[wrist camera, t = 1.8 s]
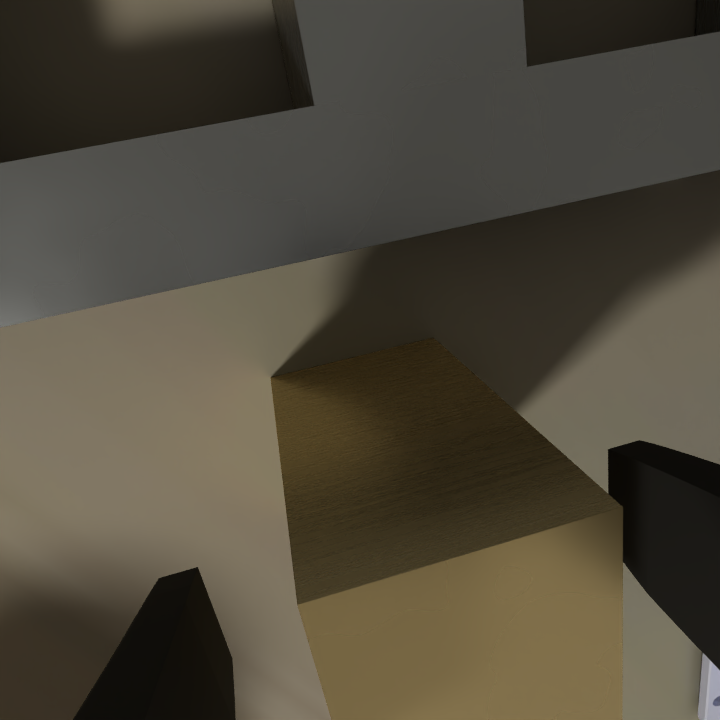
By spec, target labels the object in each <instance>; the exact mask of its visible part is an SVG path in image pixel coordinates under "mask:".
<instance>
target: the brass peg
mask: <svg viewBox="0 0 720 720" xmlns="http://www.w3.org/2000/svg"><path fill="white" fill-rule="evenodd" d="M271 386H272V394H273V403H274V411H275V420H276V428H277V437H278V445H279V453H280V462H281V470H282V479H283V487H284V496H285V504H286V513H287V521H288V529H289V538H290V546H291V555H292V563H293V572H294V580H295V589H296V597H297V605H298V609H299V612H300V615H301V619H302V622H303V625H304V629H305V632H306V635H307V639H308V642H309V646H310V649H311V652H312V656H313V659H314V662H315V666H316V669H317V672H318V676H319V679H320V683H321V686H322V689H323V693H324V696H325V699H326V703H327V706H328V709H329V713H330V716H331V720H622V648H623V507H622V506H621V505H620V504H619V503H618V502H617V501H616V500H614V499H613V498H612V497H611V496H610V495H609V494H608V493H607V492H605V491H604V490H603V489H602V488H601V487H600V486H599V485H598V484H596V483H595V482H594V481H593V480H592V479H591V478H590V477H589V476H588V475H586V474H585V473H584V472H583V471H582V470H581V469H580V468H579V467H577V466H576V465H575V464H574V463H573V462H572V461H571V460H570V459H568V458H567V457H566V456H565V455H564V454H563V453H562V452H561V451H560V450H558V449H557V448H556V447H555V446H554V445H553V444H552V443H551V442H549V441H548V440H547V439H546V438H545V437H544V436H543V435H542V434H540V433H539V432H538V431H537V430H536V429H535V428H534V427H533V426H532V425H530V424H529V423H528V422H527V421H526V420H525V419H524V418H523V417H521V416H520V415H519V414H518V413H517V412H516V411H515V410H514V409H512V408H511V407H510V406H509V405H508V404H507V403H506V402H505V401H504V400H502V399H501V398H500V397H499V396H498V395H497V394H496V393H495V392H493V391H492V390H491V389H490V388H489V387H488V386H487V385H486V384H484V383H483V382H482V381H481V380H480V379H479V378H478V377H477V376H475V375H474V374H473V373H472V372H471V371H470V370H469V369H468V368H467V367H465V366H464V365H463V364H462V363H461V362H460V361H459V360H458V359H456V358H455V357H454V356H453V355H452V354H451V353H450V352H449V351H447V350H446V349H445V348H444V347H443V346H442V345H441V344H440V343H439V342H437V341H436V340H435V339H434V338H430V339H426V340H422V341H418V342H414V343H409V344H405V345H401V346H397V347H393V348H389V349H385V350H381V351H377V352H373V353H369V354H365V355H360V356H356V357H352V358H348V359H344V360H340V361H336V362H332V363H328V364H324V365H320V366H315V367H311V368H307V369H303V370H299V371H295V372H291V373H287V374H283V375H279V376H275V377H271Z"/></svg>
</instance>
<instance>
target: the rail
mask: <svg viewBox="0 0 720 720" xmlns="http://www.w3.org/2000/svg"><path fill="white" fill-rule="evenodd" d="M272 5H273V10H274V15H275V20H276V24H277V29H278V34H279V39H280V44H281V49H282V54H283V58H284V63H285V68H286V73H287V78H288V83H289V88H290V92H291V97H292V102H293V107H294V110H288V111H283V112H277V113H272V114H266V115H261V116H255V117H250V118H245V119H239V120H234V121H228V122H223V123H217V124H212V125H206V126H201V127H195V128H190V129H184V130H179V131H173V132H168V133H163V134H157V135H152V136H146V137H141V138H135V139H130V140H124V141H119V142H113V143H108V144H102V145H97V146H91V147H86V148H81V149H75V150H70V151H64V152H59V153H53V154H48V155H42V156H37V157H31V158H26V159H20V160H15V161H9V162H4V163H0V327H5V326H9V325H14V324H18V323H23V322H28V321H32V320H37V319H41V318H46V317H50V316H55V315H59V314H64V313H69V312H73V311H78V310H82V309H87V308H91V307H96V306H101V305H105V304H110V303H114V302H119V301H123V300H128V299H133V298H137V297H142V296H146V295H151V294H155V293H160V292H164V291H169V290H174V289H178V288H183V287H187V286H192V285H196V284H201V283H206V282H210V281H215V280H219V279H224V278H228V277H233V276H238V275H242V274H247V273H251V272H256V271H260V270H265V269H269V268H274V267H279V266H283V265H288V264H292V263H297V262H301V261H306V260H311V259H315V258H320V257H324V256H329V255H333V254H338V253H343V252H347V251H352V250H356V249H361V248H365V247H370V246H374V245H379V244H384V243H388V242H393V241H397V240H402V239H406V238H411V237H416V236H420V235H425V234H429V233H434V232H438V231H443V230H448V229H452V228H457V227H461V226H466V225H470V224H475V223H479V222H484V221H489V220H493V219H498V218H502V217H507V216H511V215H516V214H521V213H525V212H530V211H534V210H539V209H543V208H548V207H553V206H557V205H562V204H566V203H571V202H575V201H580V200H584V199H589V198H594V197H598V196H603V195H607V194H612V193H616V192H621V191H626V190H630V189H635V188H639V187H644V186H648V185H653V184H657V183H662V182H667V181H671V180H676V179H680V178H685V177H689V176H694V175H699V174H703V173H708V172H712V171H717V170H720V0H697V17H696V36H693V37H687V38H682V39H676V40H671V41H665V42H660V43H654V44H649V45H643V46H638V47H633V48H627V49H622V50H616V51H611V52H605V53H600V54H594V55H589V56H583V57H578V58H572V59H567V60H561V61H556V62H551V63H545V64H540V65H534V66H529V67H527V60H526V42H525V24H524V7H523V0H272Z"/></svg>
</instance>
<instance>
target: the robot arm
mask: <svg viewBox="0 0 720 720" xmlns="http://www.w3.org/2000/svg"><path fill="white" fill-rule="evenodd" d="M608 492H609V495H610V496H611V497H612V498H613V499H614V500H616V501H617V502H618V503H619V504H620V505H621V506H622V507H623V562H624V563H625V565H626V566H627V567H628V569H629V570H630V571H631V573H632V574H633V575H634V577H635V578H636V579H637V581H638V582H639V583H640V585H641V586H642V587H643V588H644V590H645V591H646V592H647V593H648V595H649V596H650V597H651V598H652V599H653V600H654V601H655V602H656V603H657V604H658V605H659V607H660V608H661V609H662V610H663V611H664V612H665V613H666V614H667V615H668V616H669V617H670V618H671V619H672V620H673V622H674V623H675V624H676V625H677V626H678V627H679V628H680V629H681V630H682V631H683V632H684V633H685V634H686V635H687V636H688V638H689V639H690V640H691V641H692V642H693V643H694V644H695V645H696V646H697V647H698V648H699V649H700V650H701V651H702V652H703V656H702V669H701V681H700V694H699V706H698V718H699V719H700V720H720V465H719V464H716V463H713V462H710V461H707V460H704V459H701V458H698V457H695V456H692V455H689V454H685V453H682V452H679V451H676V450H673V449H669V448H666V447H663V446H659V445H656V444H652V443H648V442H644V441H640V440H639V441H635V442H632V443H628V444H625V445H621V446H618V447H614V448H611V449H608ZM73 720H235V697H234V680H233V663H232V657H231V654H230V651H229V649H228V646H227V643H226V641H225V638H224V635H223V633H222V630H221V628H220V625H219V622H218V620H217V617H216V614H215V612H214V609H213V606H212V604H211V601H210V598H209V596H208V593H207V590H206V588H205V585H204V583H203V580H202V577H201V575H200V572H199V569H198V567H196V568H193V569H190V570H186V571H183V572H179V573H176V574H172V575H169V576H165V577H162V578H159V579H158V581H157V582H156V584H155V585H154V587H153V589H152V590H151V592H150V593H149V595H148V597H147V598H146V600H145V602H144V603H143V605H142V607H141V609H140V610H139V612H138V614H137V615H136V617H135V619H134V620H133V622H132V624H131V625H130V627H129V629H128V631H127V632H126V634H125V636H124V637H123V639H122V641H121V642H120V644H119V646H118V647H117V649H116V651H115V652H114V654H113V656H112V657H111V659H110V661H109V662H108V664H107V666H106V667H105V669H104V671H103V672H102V674H101V675H100V677H99V679H98V680H97V682H96V683H95V685H94V687H93V688H92V690H91V691H90V693H89V695H88V696H87V698H86V699H85V701H84V703H83V704H82V706H81V708H80V709H79V711H78V712H77V714H76V715H75V717H74V719H73Z"/></svg>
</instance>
